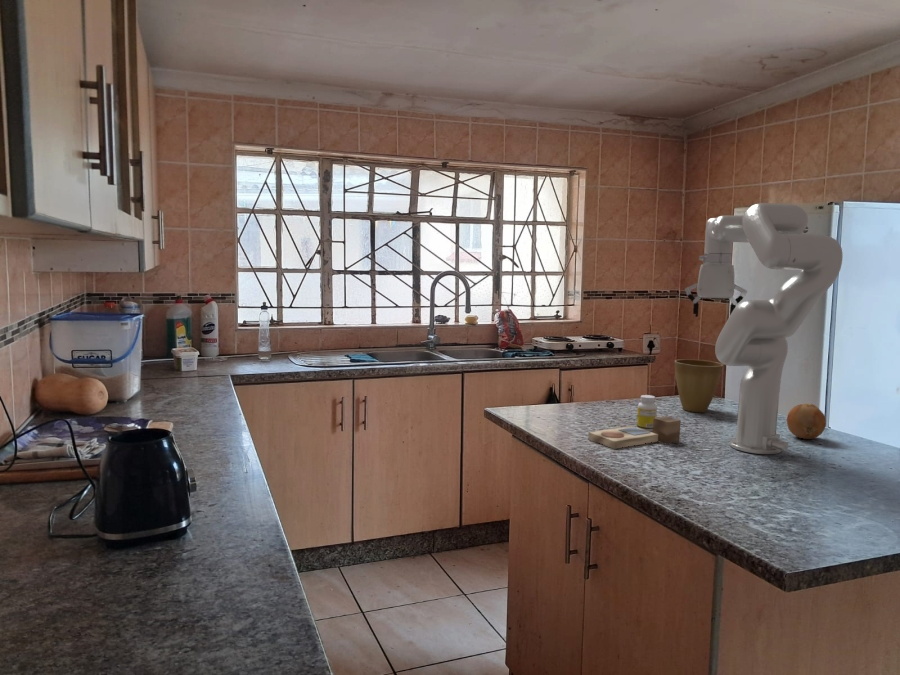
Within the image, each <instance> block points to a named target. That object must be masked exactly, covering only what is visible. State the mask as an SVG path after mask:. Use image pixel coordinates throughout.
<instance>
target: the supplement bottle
mask: <svg viewBox="0 0 900 675" xmlns="http://www.w3.org/2000/svg"><path fill="white" fill-rule="evenodd" d="M655 401H656V396H654V395H652V394H651V395H650V394H642V395H640V402H639V403H638V404H637V414H636V415H637V416H636V417H637V420H636V427H637V428H640V429H643V430H646V431H649V432H653V419H654V418H658V417H657V415H658V413H657V412H658V406H657V404H656V403H655Z"/></svg>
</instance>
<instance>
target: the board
mask: <svg viewBox="0 0 900 675" xmlns="http://www.w3.org/2000/svg"><path fill="white" fill-rule="evenodd" d="M587 439H588V441H591V440H592V442H593V443H594V442H595V443H597V444H599V443H600V445H602V444H603V445H602V446H604V447H605V446H606V447H608V448H610V449H613V450H617V449H621V448H622V447H623V448H629V447H633V446H634V445H635V446H639V445H645V443H646V444H651V442H652V443H657V441H658V434H656V433H653V431H646V430H643V429H640V428H637V426H636V427H635V426H634V425H628V426H622V427H615V428H609V429H602V430H596V431H595V430H593V431H588V438H587ZM658 442H659V441H658ZM628 446H629V447H628ZM623 448H622V449H623Z"/></svg>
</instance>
